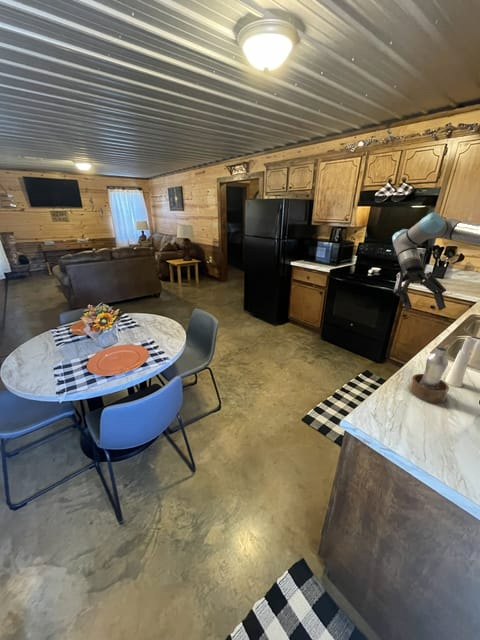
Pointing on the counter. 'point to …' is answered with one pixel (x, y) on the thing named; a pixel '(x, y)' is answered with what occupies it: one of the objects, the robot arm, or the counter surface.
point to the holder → (428, 390)
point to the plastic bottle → (435, 368)
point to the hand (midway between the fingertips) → (425, 309)
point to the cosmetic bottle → (460, 364)
